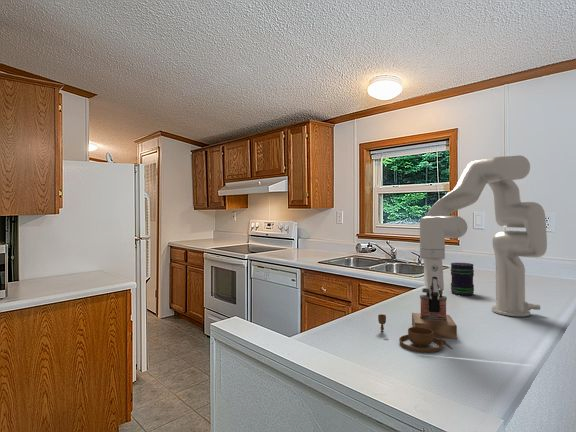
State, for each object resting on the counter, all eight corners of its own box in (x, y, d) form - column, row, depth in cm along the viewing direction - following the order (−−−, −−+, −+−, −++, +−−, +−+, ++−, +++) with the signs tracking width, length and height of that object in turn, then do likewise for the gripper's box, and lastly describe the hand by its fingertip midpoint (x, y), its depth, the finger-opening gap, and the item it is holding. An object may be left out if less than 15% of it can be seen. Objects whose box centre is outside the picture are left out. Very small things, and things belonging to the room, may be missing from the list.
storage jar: (475, 294, 166) (474, 263, 166) (473, 298, 158) (472, 265, 158) (452, 292, 171) (451, 262, 171) (449, 296, 163) (449, 264, 163)
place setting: (398, 356, 94) (398, 334, 94) (374, 332, 114) (374, 314, 114) (460, 353, 95) (460, 332, 95) (426, 330, 115) (426, 312, 115)
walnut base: (449, 326, 117) (449, 315, 117) (456, 338, 106) (456, 325, 106) (411, 324, 120) (411, 312, 120) (415, 335, 109) (415, 322, 109)
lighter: (446, 318, 113) (446, 288, 113) (447, 321, 110) (447, 290, 110) (419, 316, 116) (419, 286, 115) (420, 319, 112) (420, 288, 112)
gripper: (449, 257, 104) (450, 317, 104) (440, 251, 120) (440, 303, 120) (423, 256, 106) (423, 316, 106) (417, 251, 122) (417, 302, 122)
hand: (432, 308), depth 113 cm, fingers open, 5 cm apart
